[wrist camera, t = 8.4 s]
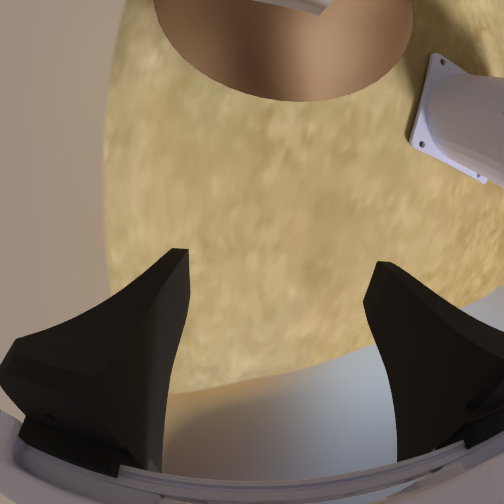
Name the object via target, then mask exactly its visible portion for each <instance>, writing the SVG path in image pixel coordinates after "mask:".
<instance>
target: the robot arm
mask: <svg viewBox="0 0 504 504" xmlns="http://www.w3.org/2000/svg"><path fill="white" fill-rule="evenodd" d="M440 60H442V62H443V64H441V62H440ZM421 141H422V146H421V147H420V146H419V143H420V142H421ZM409 143H410V145H411V146H412V147H413V148H415V149H418V150H420V151H422V152H424V153H426V154H428V155H430V156H433V157H435V158H437V159H439V160H441V161H443V162H445V163H447V164H449V165H451V166H452V167H454V168H456V169H458V170H460V171H462V172H464V173H466V174H467V175H469V176H471V177H473V178H474V179H476V180H478V181H480V182H481V183H483V184H485V183H486V182H487V181H488V179H489V180H490V181H492V182H494V183H496V184H497V185H499V186H501V187H502V188H504V78H499V77H491V76H481V75H470V74H468V73H467V72H465V71H464V70H463V69H461V68H460V67H458V66H457V65H455V64H454V63H452V62H451V61H450V60H448V59H446V58H445V57H443V56H442V55H440V54H439V53H432V54H431V56H430V60H429V65H428V70H427V75H426V79H425V83H424V88H423V92H422V96H421V100H420V104H419V107H418V111H417V115H416V118H415V122H414V125H413V129H412V132H411V136H410V139H409ZM477 173H478V175H477ZM189 300H190V275H189V249H178V248H172V249H170V250H169V251H168V252H167V253H166V254H165V255H163V256H162V257H161V258H160V259H159V260H158V261H157V262H156V263H154V264H153V265H152V266H151V267H150V268H149V269H147V270H146V271H145V272H144V273H143V274H142V275H140V276H139V277H138V278H136V279H135V280H134V281H132V282H131V283H130V284H129V285H127V286H126V287H125V288H123V289H122V290H121V291H119V292H118V293H116V294H115V295H113V296H112V297H110V298H109V299H107V300H106V301H104V302H102V303H101V304H99V305H97V306H95V307H93V308H92V309H90V310H88V311H86V312H84V313H82V314H80V315H78V316H77V317H74V318H72V319H70V320H68V321H66V322H64V323H61V324H59V325H56V326H54V327H51V328H48V329H46V330H43V331H40V332H37V333H34V334H30V335H27V336H24V337H21V338H17V339H16V340H15V341H14V343H13V344H12V346H11V348H10V349H9V351H8V353H7V354H6V356H5V358H4V360H3V361H2V363H1V365H0V386H1V387H2V389H3V390H4V391H5V393H6V394H7V395H8V396H9V397H10V399H11V400H12V401H13V402H14V403H15V404H16V406H17V407H18V408H19V409H20V410H21V411H22V412H23V413H24V414H25V415H26V417H25V419H24V422H23V423H21V422H20V421H18V420H17V419H16V418H14V417H12V416H11V415H9V414H7V413H5V412H3V411H1V410H0V493H2V494H3V495H4V496H6V497H7V498H9V499H10V500H12V501H13V502H15V503H16V504H191V503H197V504H306V503H315V502H322V501H329V500H335V499H341V498H346V497H351V496H357V495H361V494H366V493H370V492H374V491H378V490H382V489H386V488H389V487H393V486H396V485H399V484H402V483H406V482H409V481H412V480H415V479H417V478H420V477H423V476H426V475H429V474H431V473H432V474H431V475H429V476H426V477H424V478H422V479H419V480H418V481H416V482H415V483H413V484H412V485H410V486H409V487H407V488H405V489H403V490H401V491H399V492H397V493H395V494H392V495H390V496H388V497H387V498H386V499H384V500H380V501H376V502H373V503H368V504H504V332H503V331H500V330H498V329H496V328H493V327H491V326H489V325H487V324H485V323H483V322H481V321H479V320H477V319H475V318H473V317H472V316H469V315H468V314H466V313H465V312H463V311H461V310H460V309H458V308H456V307H455V306H453V305H452V304H450V303H449V302H447V301H446V300H445V299H443V298H442V297H440V296H439V295H437V294H436V293H435V292H433V291H432V290H430V289H429V288H428V287H426V286H425V285H424V284H422V283H421V282H420V281H418V280H417V279H416V278H414V277H413V276H411V275H410V274H409V273H407V272H406V271H404V270H403V269H401V268H400V267H398V266H397V265H395V264H393V263H391V262H383V261H377V263H376V266H375V269H374V272H373V275H372V278H371V281H370V284H369V286H368V289H367V292H366V295H365V297H364V300H363V305H364V309H365V313H366V317H367V321H368V324H369V327H370V329H371V332H372V335H373V337H374V340H375V342H376V345H377V347H378V350H379V353H380V355H381V358H382V360H383V363H384V365H385V369H386V372H387V375H388V379H389V384H390V388H391V393H392V398H393V405H394V411H395V418H396V430H397V463H393V464H389V465H385V466H382V467H377V468H372V469H368V470H363V471H358V472H352V473H347V474H341V475H334V476H327V477H319V478H309V479H298V480H282V481H227V480H212V479H201V478H191V477H183V476H176V475H169V474H163V473H162V449H163V434H164V422H165V413H166V404H167V397H168V390H169V383H170V376H171V371H172V367H173V363H174V359H175V356H176V352H177V349H178V345H179V342H180V338H181V335H182V332H183V328H184V325H185V321H186V318H187V312H188V306H189ZM186 502H188V503H186Z"/></svg>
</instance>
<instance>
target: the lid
mask: <svg viewBox="0 0 504 504" xmlns="http://www.w3.org/2000/svg"><path fill="white" fill-rule="evenodd" d="M154 4H155V10H156V14H157V17H158V21H159V23H160V25H161V27H162V30H163V32H164V34H165V35H166V37H167V38H168V40H169V41H170V43H171V44H172V46H173V47H174V48H175V49H176V50H177V51H178V52H179V54H180V55H181V56H182V57H183V58H184V59H185V60H187V61H188V62H189V63H190V64H191V65H193V66H194V67H195V68H196V69H197V70H199V71H201V72H202V73H204V74H205V75H207V76H208V77H210V78H211V79H213V80H215V81H217V82H219V83H221V84H223V85H225V86H227V87H230V88H232V89H235V90H238V91H240V92H243V93H246V94H250V95H254V96H258V97H261V98H267V99H274V100H280V101H296V102H303V101H320V100H326V99H333V98H337V97H341V96H345V95H348V94H351V93H354V92H356V91H359V90H361V89H364V88H366V87H367V86H369V85H371V84H373V83H374V82H376V81H378V80H379V79H380V78H381V77H383V76H384V75H385V74H387V73H388V72H389V71H390V70H391V69H392V68H393V67H394V65H395V64H396V63H397V62H398V61H399V59H400V58H401V56H402V55H403V53H404V52H405V49H406V47H407V45H408V43H409V41H410V37H411V33H412V29H413V20H414V10H413V1H412V0H154Z"/></svg>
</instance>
